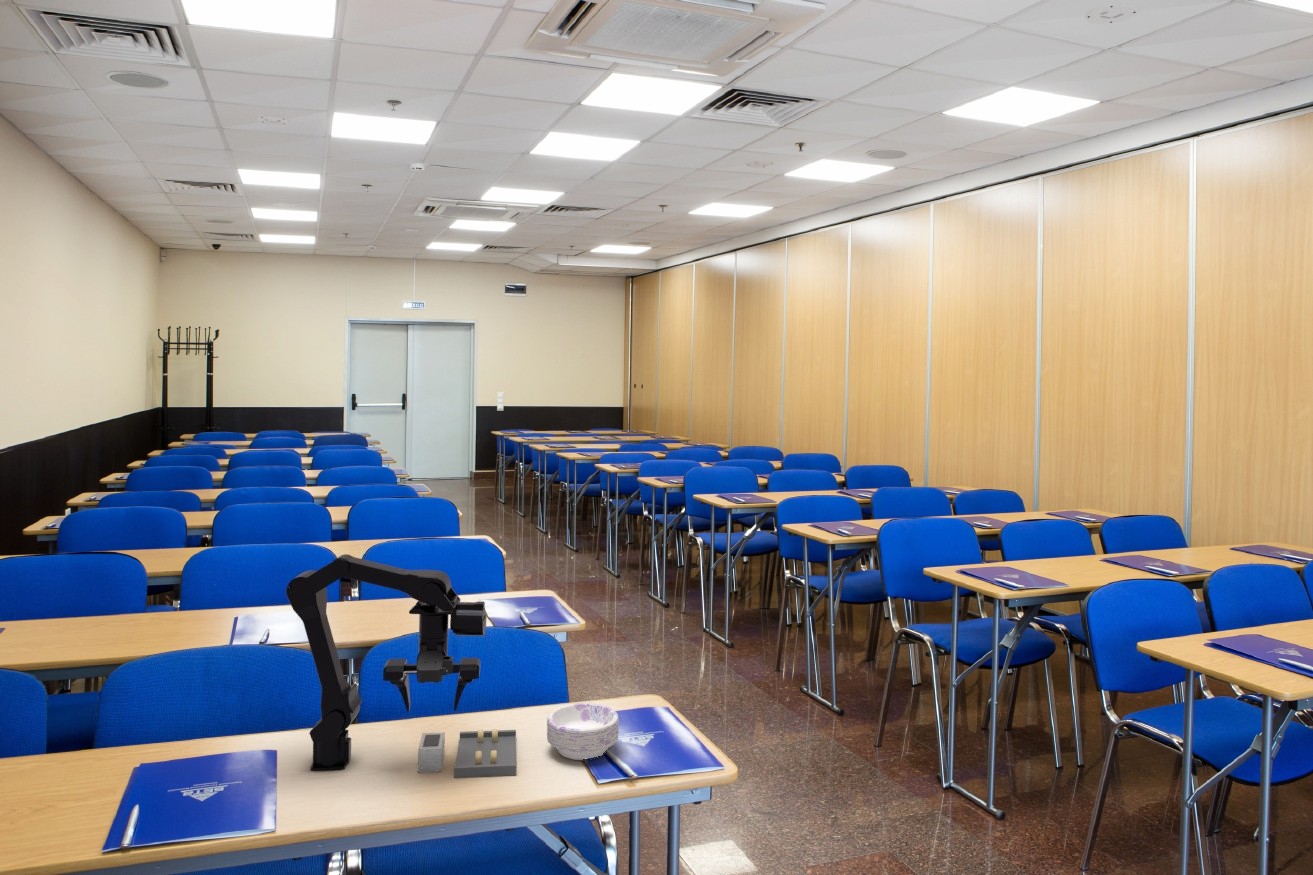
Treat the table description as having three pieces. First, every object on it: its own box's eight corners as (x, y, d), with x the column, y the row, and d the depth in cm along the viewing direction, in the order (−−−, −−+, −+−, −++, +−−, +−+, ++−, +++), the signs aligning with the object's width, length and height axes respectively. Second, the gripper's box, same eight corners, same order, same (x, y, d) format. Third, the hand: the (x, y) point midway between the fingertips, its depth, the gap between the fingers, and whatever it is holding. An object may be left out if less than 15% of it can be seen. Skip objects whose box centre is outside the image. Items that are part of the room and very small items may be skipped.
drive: (417, 773, 171) (418, 748, 171) (422, 756, 179) (422, 732, 179) (441, 772, 172) (441, 747, 172) (444, 755, 180) (444, 731, 179)
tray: (454, 777, 169) (454, 760, 169) (459, 740, 187) (460, 724, 187) (515, 775, 171) (516, 758, 171) (515, 738, 189) (516, 723, 189)
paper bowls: (535, 761, 178) (536, 724, 177) (560, 733, 193) (561, 698, 192) (606, 771, 174) (607, 733, 174) (626, 742, 189) (627, 706, 189)
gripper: (379, 647, 164) (378, 727, 165) (479, 646, 168) (477, 724, 168) (387, 631, 175) (386, 706, 176) (481, 629, 179) (479, 703, 179)
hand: (431, 710), depth 175 cm, fingers open, 9 cm apart
